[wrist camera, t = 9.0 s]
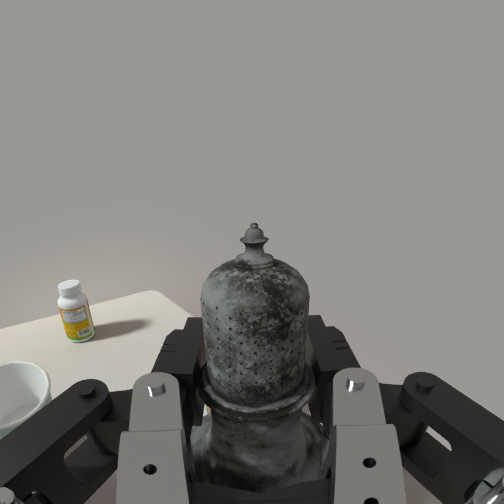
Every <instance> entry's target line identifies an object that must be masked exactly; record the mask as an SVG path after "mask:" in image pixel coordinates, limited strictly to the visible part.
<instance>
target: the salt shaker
mask: <svg viewBox="0 0 504 504" xmlns="http://www.w3.org/2000/svg"><path fill="white" fill-rule="evenodd" d="M268 240H269V239H268V238H267V237H264V236H263V231H262V230H261V229H260V228H258V224H257V223H252V224H251V225H250V228H248V229H247V230H246V232H245V237H242V238H241V239H240V241H241V242H243V243H244V244H245V246H246V249H245V253H243V254H240V255H238V256H237V257H236V258H235V259H234V260H231V261H228V262H226V263H224V264H222V265H221V266H219V267H218V268H216V269H215V270H213V271H212V272H211V273H210V274H209V276H208V277H207V279H206V280H205V282H204V284H203V287H202V292H201V299H200V300H201V311H202V322H203V332H204V342H205V351H206V360H207V362H206V363H205V364H204V365H203V366H202V368H201V369H200V373H199V377H198V382H197V389H198V393H199V396H200V397H201V399H202V400H203V402H204V403H205V404H206V405H207V406H208V407H209V408H210V411H211V412H210V413H208V414H207V415H205V416H204V417H203V419H202V426H192V431H191V436H190V437H191V441H192V449H193V456H194V462H195V469H196V475H197V481H198V483H200V484H218V485H222V486H226V487H230V488H235V489H240V490H245V491H250V492H256V493H264V492H268V491H272V490H276V489H280V488H284V487H287V486H291V485H294V484H297V483H301V482H306V481H314V480H318V478H319V468H320V455H321V441H322V434H323V429H324V428H323V426H322V425H321V424H320V423H315V424H313V422H312V418H311V416H310V415H308V414H306V413H304V412H302V408H303V407H304V406H305V405H306V404H307V403H308V402H309V401H310V399H311V397H312V395H313V393H314V391H315V377H314V374H313V371H312V368H311V367H310V366H309V365H308V363H307V362H306V361H305V352H306V340H307V327H308V312H309V298H310V296H309V290H308V285H307V283H306V282H305V280H304V279H303V277H302V276H301V274H300V273H299V272H298V271H297V270H296V269H294V268H293V267H291V266H290V265H288V264H286V263H285V262H283V261H280V260H277V259H274V258H273V256H272V255H270V254H267V253H264V249H263V245H264V244H265V243H266V242H267V241H268Z"/></svg>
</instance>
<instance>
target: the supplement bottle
mask: <svg viewBox="0 0 504 504" xmlns="http://www.w3.org/2000/svg"><path fill="white" fill-rule="evenodd" d="M58 290H59V294H60V295H61V296H60V298H59V299H58V307H59V310H60V314H61V317H62V321H63V324H64V328H65V331H66V334H67V337H68V339H69V340H70V341H71V342H75V343H80V342H85V341H87V340H89V339H91V338H92V337H93V336H94V334H95V329H94V325H93V322H92V318H91V314H90V309H89V305H88V301H87V297H86V295H85V294H84V293H83V292H80V291H81V286H80V282H79V281H78V280H67V281H64V282H62V283H60V284H59V285H58Z"/></svg>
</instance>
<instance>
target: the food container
mask: <svg viewBox="0 0 504 504" xmlns="http://www.w3.org/2000/svg"><path fill="white" fill-rule="evenodd" d="M50 385H51V384H50V378H49V376H48V374H47V372H46V371H45V370H44V369H43V368H42V367H40V366H39V365H37V364H34V363H31V362H26V361H13V362H7V363H3V364H0V439H2V438H3V437H4V436H6V435H7V434H8V433H10V432H11V431H12V430H14V429H15V428H16V427H18V426H19V425H20V424H22V423H23V422H24V421H26V420H27V419H28V418H30V417H31V416H32V415H34V414H35V413H36V412H38V411H39V410H40V409H42V408H43V407H44V406H46V405H47V404H48V403H50V402H51V401H52V397H51V393H50Z"/></svg>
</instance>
